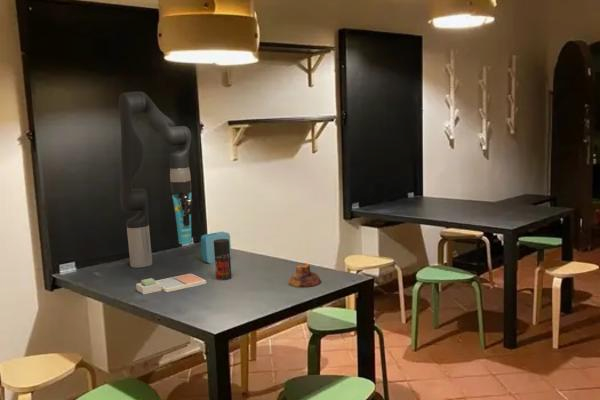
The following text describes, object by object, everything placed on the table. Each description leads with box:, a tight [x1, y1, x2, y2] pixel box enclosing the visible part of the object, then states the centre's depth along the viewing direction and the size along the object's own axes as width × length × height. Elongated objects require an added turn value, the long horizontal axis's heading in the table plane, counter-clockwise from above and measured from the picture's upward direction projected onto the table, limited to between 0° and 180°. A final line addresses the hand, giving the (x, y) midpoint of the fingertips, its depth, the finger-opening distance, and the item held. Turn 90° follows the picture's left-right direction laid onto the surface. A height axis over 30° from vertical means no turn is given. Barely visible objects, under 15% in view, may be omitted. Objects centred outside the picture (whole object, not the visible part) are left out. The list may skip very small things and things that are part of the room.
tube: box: [171, 191, 193, 245], centre depth 240 cm, size 7×5×19 cm, turn 123°
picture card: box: [156, 273, 207, 293], centre depth 242 cm, size 14×16×1 cm
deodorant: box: [214, 239, 233, 281], centre depth 245 cm, size 6×6×15 cm
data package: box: [200, 231, 232, 264], centre depth 275 cm, size 12×4×12 cm, turn 127°
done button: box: [140, 277, 156, 286], centre depth 235 cm, size 4×4×2 cm
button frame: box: [135, 280, 163, 295], centre depth 235 cm, size 7×7×2 cm
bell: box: [288, 263, 321, 288], centre depth 234 cm, size 12×12×7 cm
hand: (184, 224), depth 241 cm, fingers closed on tube, 4 cm apart
